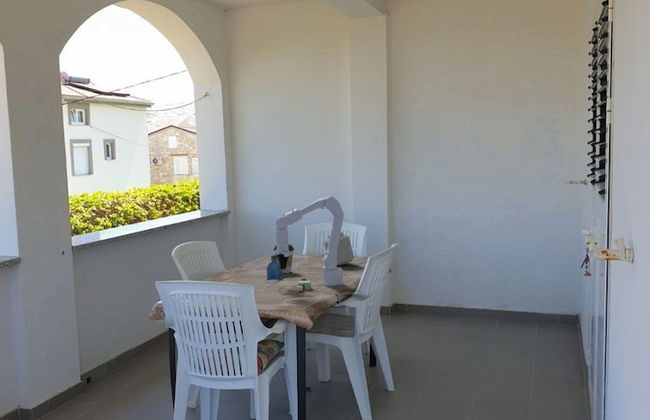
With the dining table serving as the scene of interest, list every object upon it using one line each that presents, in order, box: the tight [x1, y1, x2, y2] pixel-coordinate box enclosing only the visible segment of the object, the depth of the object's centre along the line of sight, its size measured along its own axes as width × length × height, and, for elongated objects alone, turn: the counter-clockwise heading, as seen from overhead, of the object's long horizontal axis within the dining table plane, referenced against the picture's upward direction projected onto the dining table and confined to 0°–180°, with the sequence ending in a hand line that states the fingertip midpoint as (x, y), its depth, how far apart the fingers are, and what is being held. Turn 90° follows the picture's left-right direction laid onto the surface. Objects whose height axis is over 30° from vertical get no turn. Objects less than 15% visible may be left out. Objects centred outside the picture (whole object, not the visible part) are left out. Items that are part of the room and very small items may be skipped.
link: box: [298, 279, 308, 291], centre depth 288 cm, size 15×4×2 cm, turn 174°
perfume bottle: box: [266, 254, 283, 281], centre depth 317 cm, size 6×6×12 cm
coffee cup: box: [272, 243, 295, 274], centre depth 332 cm, size 11×11×15 cm
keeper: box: [297, 280, 312, 290], centre depth 286 cm, size 4×6×3 cm
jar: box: [321, 231, 355, 266], centre depth 349 cm, size 19×15×25 cm
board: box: [271, 277, 321, 296], centre depth 286 cm, size 19×17×5 cm
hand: (283, 269), depth 293 cm, fingers closed
